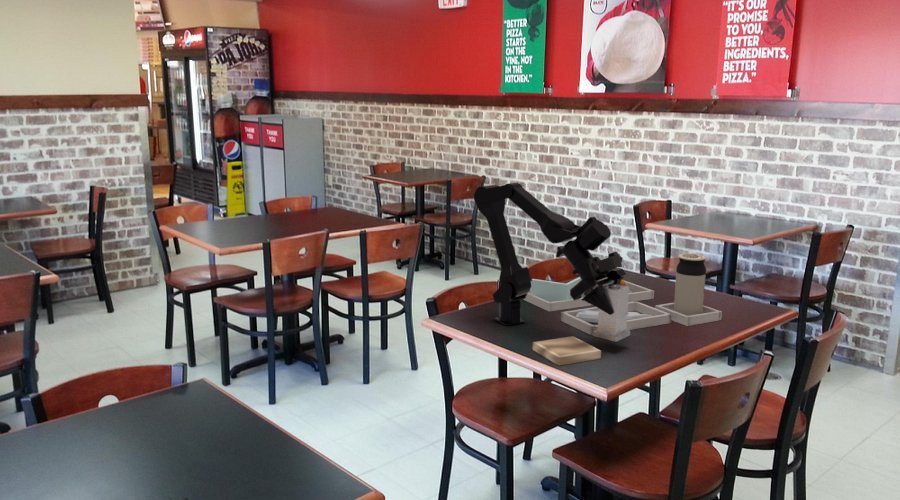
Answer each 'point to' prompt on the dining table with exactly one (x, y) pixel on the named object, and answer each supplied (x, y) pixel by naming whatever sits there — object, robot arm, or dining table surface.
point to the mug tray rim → (705, 317)
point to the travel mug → (690, 284)
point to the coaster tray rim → (555, 303)
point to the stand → (566, 350)
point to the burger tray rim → (639, 292)
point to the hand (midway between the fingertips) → (618, 311)
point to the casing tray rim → (655, 319)
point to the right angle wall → (552, 289)
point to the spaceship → (593, 315)
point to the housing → (614, 314)
